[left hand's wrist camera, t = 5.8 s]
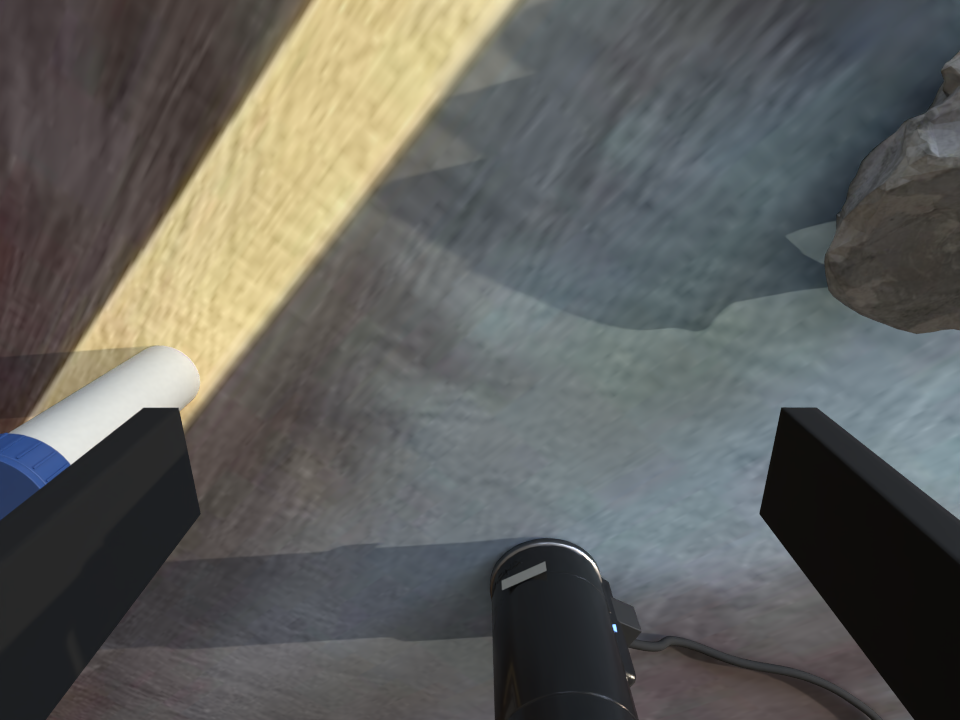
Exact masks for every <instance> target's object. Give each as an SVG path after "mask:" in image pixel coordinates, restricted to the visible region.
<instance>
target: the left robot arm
mask: <svg viewBox="0 0 960 720" xmlns="http://www.w3.org/2000/svg"><path fill="white" fill-rule="evenodd" d="M199 515H200V509H199V504H198V499H197V494H196V489H195V485H194V480H193V475H192V470H191V465H190V460H189V455H188V451H187V446H186V441H185V436H184V431H183V426H182V421H181V417H180V412H179V408H142V409H141V410H140V411H139V412H137V413H136V414H135V415H133V416H132V417H131V418H130V419H128V420H127V421H126V422H125V423H123V424H122V425H121V426H119V427H118V428H117V429H116V430H114V431H113V432H112V433H111V434H109V435H108V436H107V437H106V438H104V439H103V440H102V441H100V442H99V443H98V444H97V445H95V446H94V447H93V448H92V449H90V450H89V451H88V452H86V453H85V454H84V455H83V456H81V457H80V458H79V459H78V460H76V461H75V462H74V463H72V464H71V465H70V466H69V467H67V468H66V469H65V470H64V471H62V472H61V473H60V474H58V475H57V476H56V477H55V478H53V479H52V480H51V481H50V482H48V483H47V484H46V485H45V486H43V487H42V488H41V489H39V490H38V491H37V492H36V493H34V494H33V495H32V496H31V497H29V498H28V499H27V500H25V501H24V502H23V503H22V504H20V505H19V506H18V507H17V508H15V509H14V510H13V511H11V512H10V513H9V514H8V515H6V516H5V517H4V518H3V519H1V520H0V720H46V719H47V717H48V716H49V715H50V713H51V712H52V711H53V709H54V708H55V707H56V705H57V704H58V703H59V701H60V700H61V699H62V697H63V696H64V695H65V693H66V692H67V691H68V689H69V688H70V687H71V685H72V684H73V683H74V681H75V680H76V679H77V677H78V676H79V675H80V673H81V672H82V671H83V669H84V668H85V667H86V665H87V664H88V663H89V661H90V660H91V659H92V657H93V656H94V655H95V653H96V652H97V651H98V649H99V648H100V647H101V645H102V644H103V643H104V642H105V640H106V639H107V638H108V636H109V635H110V634H111V632H112V631H113V630H114V628H115V627H116V626H117V624H118V623H119V622H120V620H121V619H122V618H123V616H124V615H125V614H126V612H127V611H128V610H129V608H130V607H131V606H132V604H133V603H134V602H135V600H136V599H137V598H138V596H139V595H140V594H141V592H142V591H143V590H144V588H145V587H146V586H147V584H148V583H149V582H150V580H151V579H152V578H153V576H154V575H155V574H156V572H157V571H158V570H159V568H160V567H161V566H162V564H163V563H164V562H165V560H166V559H167V558H168V557H169V555H170V554H171V553H172V551H173V550H174V549H175V547H176V546H177V545H178V543H179V542H180V541H181V539H182V538H183V537H184V535H185V534H186V533H187V531H188V530H189V529H190V527H191V526H192V525H193V523H194V522H195V521H196V519H197V518H198V517H199ZM760 515H761V517H762V518H763V519H764V521H765V522H766V523H767V525H768V526H769V527H770V529H771V530H772V531H773V533H774V534H775V535H776V537H777V538H778V539H779V541H780V542H781V543H782V545H783V546H784V547H785V549H786V550H787V551H788V553H789V554H790V555H791V557H792V558H793V559H794V560H795V562H796V563H797V564H798V566H799V567H800V568H801V570H802V571H803V572H804V574H805V575H806V576H807V578H808V579H809V580H810V582H811V583H812V584H813V586H814V587H815V588H816V590H817V591H818V592H819V594H820V595H821V596H822V598H823V599H824V600H825V602H826V603H827V604H828V606H829V607H830V608H831V610H832V611H833V612H834V614H835V615H836V616H837V618H838V619H839V620H840V622H841V623H842V624H843V626H844V627H845V628H846V630H847V631H848V632H849V634H850V635H851V636H852V638H853V639H854V640H855V642H856V643H857V644H858V645H859V647H860V648H861V649H862V651H863V652H864V653H865V655H866V656H867V657H868V659H869V660H870V661H871V663H872V664H873V665H874V667H875V668H876V669H877V671H878V672H879V673H880V675H881V676H882V677H883V679H884V680H885V681H886V683H887V684H888V685H889V687H890V688H891V689H892V691H893V692H894V693H895V695H896V696H897V697H898V699H899V700H900V701H901V703H902V704H903V705H904V707H905V708H906V709H907V711H908V712H909V713H910V715H911V716H912V717H913V719H914V720H960V520H959V519H957V518H956V517H955V516H954V515H952V514H951V513H950V512H949V511H947V510H946V509H945V508H943V507H942V506H941V505H940V504H938V503H937V502H936V501H935V500H933V499H932V498H931V497H929V496H928V495H927V494H926V493H924V492H923V491H922V490H921V489H919V488H918V487H917V486H915V485H914V484H913V483H912V482H910V481H909V480H908V479H907V478H905V477H904V476H903V475H902V474H900V473H899V472H898V471H896V470H895V469H894V468H893V467H891V466H890V465H889V464H888V463H886V462H885V461H884V460H882V459H881V458H880V457H879V456H877V455H876V454H875V453H874V452H872V451H871V450H870V449H868V448H867V447H866V446H865V445H863V444H862V443H861V442H860V441H858V440H857V439H856V438H854V437H853V436H852V435H851V434H849V433H848V432H847V431H846V430H844V429H843V428H842V427H841V426H839V425H838V424H837V423H835V422H834V421H833V420H832V419H830V418H829V417H828V416H827V415H825V414H824V413H823V412H821V411H820V410H819V409H818V408H781V412H780V417H779V421H778V426H777V431H776V436H775V441H774V446H773V451H772V455H771V460H770V465H769V470H768V475H767V480H766V485H765V489H764V494H763V499H762V504H761V509H760Z"/></svg>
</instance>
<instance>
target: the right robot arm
mask: <svg viewBox="0 0 960 720" xmlns="http://www.w3.org/2000/svg"><path fill="white" fill-rule="evenodd" d="M490 593H491V599H492V634H493V670H494V706H495V720H639V719H638V715H637V712H636V708H635V705H634V701H633V697H632V694H631V690H630V687H631V686H632V685H633V684H634V683H635V680H636V675H635V671H634V667H633V664H632V660H631V657H630V654H629V650H628V648H633V649H638V650H643V651H653V652H655V651H662V650H664V649H665V648H667V647H668V646H670V645H673V646H680V647H685V648H689V649H692V650H695V651H698V652H700V653H703V654H705V655H708V656H710V657H713V658H715V659H718V660H721V661H723V662H726V663H729V664H732V665H735V666H739V667H743V668H747V669H752V670H757V671H762V672H768V673H774V674H780V675H786V676H790V677H794V678H798V679H802V680H805V681H808V682H810V683H813V684H816V685H818V686H821V687H823V688H825V689H827V690H829V691H831V692H833V693H835V694H836V695H838V696H840V697H841V698H843V699H845V700H846V701H848V702H849V703H851V704H852V705H853V706H855V707H856V708H858V709H859V710H860V711H862V712H863V713H864V714H866V715H867V716H868V717H869V718H870V719H872V720H883V719H882V718H881V717H880V716H879V715H877V714H876V713H875V712H874V711H873V710H872V709H871V708H869V707H868V706H867V705H865V704H864V703H863V702H861V701H860V700H859V699H857V698H856V697H854V696H853V695H851V694H850V693H848V692H847V691H845V690H843V689H842V688H840V687H838V686H836V685H835V684H833V683H831V682H828V681H826V680H824V679H822V678H819V677H817V676H815V675H812V674H809V673H806V672H804V671H800V670H797V669H793V668H789V667H784V666H779V665H773V664H767V663H761V662H756V661H751V660H746V659H742V658H738V657H735V656H731V655H728V654H726V653H723V652H720V651H717V650H715V649H712V648H710V647H707V646H705V645H702V644H700V643H697V642H694V641H691V640H688V639H684V638H680V637H673V636H667V637H665V638H663V639H661V640H660V641H658V642H647V641H641V640H636V638H637V636H638V635H639V634H640V633H641V628H640V625H639V622H638V619H637V616H636V613H635V610H634V607H633V606H630V605H628V604H626V603H623V602H621V601H619V600H617V599H614V598H613V596H612V592H611V589H610V585H609V582H608V581H606V580H604V579H603V578H601V575H600V572H599V569H598V566H597V564H596V562H595V561H594V559H593V558H592V557H591V556H590V555H589V554H588V553H587V552H586V551H585V550H584V549H582V548H581V547H579V546H577V545H575V544H573V543H571V542H568V541H564V540H560V539H550V538H546V539H536V540H531V541H527V542H524V543H522V544H519V545H517V546H515V547H514V548H512V549H511V550H509V551H508V552H507V553H505V554H504V555H503V556H502V557H501V558H500V560H499V561H498V562H497V564H496V565H495V567H494V569H493V572H492V575H491V580H490Z"/></svg>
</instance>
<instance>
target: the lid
mask: <svg viewBox="0 0 960 720" xmlns="http://www.w3.org/2000/svg"><path fill="white" fill-rule="evenodd" d="M70 465H71V464H70V463H69V462H68V461H67V460H66V459H65V457H64V456H63V455H61V454H60V453H59V452H58V451H57V450H55V449H54V448H52V447H51V446H49V445H48V444H46V443H44V442H42V441H40V440H38V439H35V438H32V437H29V436H25V435H21V434H10V433H4V434H0V520H1V519H3V518H4V517H5V516H6V515H8V514H9V513H10V512H11V511H13V510H14V509H15V508H17V507H18V506H19V505H20V504H22V503H23V502H24V501H25V500H27V499H28V498H29V497H31V496H32V495H33V494H34V493H36V492H37V491H38V490H39V489H41V488H42V487H43V486H45V485H46V484H47V483H48V482H50V481H51V480H52V479H53V478H55V477H56V476H57V475H58V474H60V473H61V472H62V471H64V470H65V469H66V468H67V467H69V466H70Z"/></svg>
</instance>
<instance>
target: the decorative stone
mask: <svg viewBox="0 0 960 720" xmlns="http://www.w3.org/2000/svg"><path fill="white" fill-rule="evenodd" d="M941 73H942V76H943V78H944V82H943V83H942V85H941V87H940V88H939V90H938V92H937V94H936V97H935V99H934V101H933V103H932V105H931V106H930V107H929V109H928V110H927V112H926V113H924V114H922V115H919V116H916V117H914V118H911V119H908V120H906V121H905V122H903V124H902V125H901V126H900V127H899V129H898V130H897V131H896V132H895V133H894V134H893V135H891V136H890V137H888V138H887V139H886V140H884V141H883V142H882V143H880V144H879V145H878V146H877V147H875V148H874V149H873V150H872V151H871V152H870V153H869V154H868V155H867V156H866V158H865V159H864V160H863V161H862V162H861V165H860V167H859V170H858V172H857V174H856V177H855V178H854V179H853V181H852V182H851V184H850V186H849V190H848V194H847V199H846V202H845V204H844V206H843V207H842V210H841V212H839V213H838V214H837V221H836V233H835V236H834V239H833V241H832V243H831V245H830V247H829V249H828V250H827V252H826V254H825V261H824V264H825V274H826V279H827V284H828V289H829V291H830V293H831V294H832V295H833V296H834V297H835V298H836V299H838V300H839V301H840V302H842V303H843V304H844V305H846V306H847V307H849V308H851V309H852V310H854V311H855V312H857V313H859V314H860V315H863V316H865V317H868V318H870V319H873V320H875V321H878V322H881V323H883V324H886V325H889V326H891V327H894V328H896V329H899V330H904V331H908V332H912V333H915V334H919V333H928V332H935V331H939V330H947V329H956V330H960V51H959V52H958V53H957V54H956V55H955V56H954V57H953V58H952V59H951V60H950V61H948V62H947V63H945V65H944V66H943V68H942V70H941Z"/></svg>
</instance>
